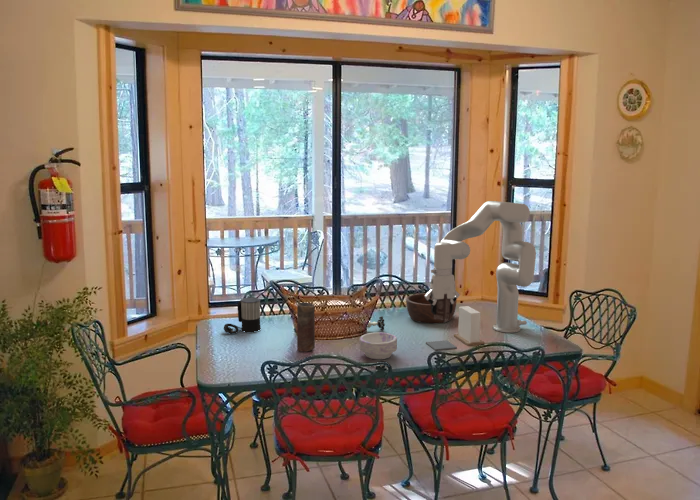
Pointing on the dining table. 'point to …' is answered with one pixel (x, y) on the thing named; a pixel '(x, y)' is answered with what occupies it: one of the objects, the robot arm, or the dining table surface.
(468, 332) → the mounted unit
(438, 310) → the box
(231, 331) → the milk frother
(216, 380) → the dining table surface
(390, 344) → the white bowl
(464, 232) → the robot arm
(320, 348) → the dining table surface
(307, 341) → the candle
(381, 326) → the valve
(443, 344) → the slate mat
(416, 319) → the wooden bowl
